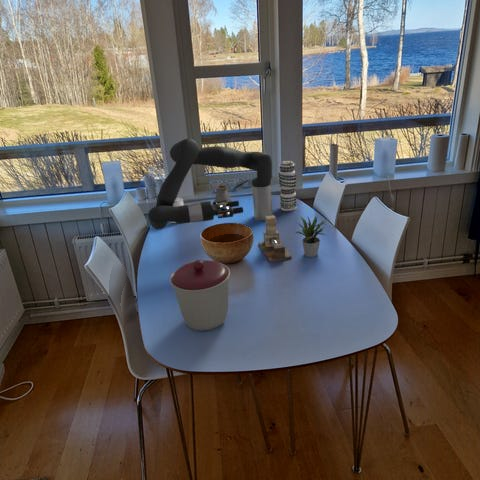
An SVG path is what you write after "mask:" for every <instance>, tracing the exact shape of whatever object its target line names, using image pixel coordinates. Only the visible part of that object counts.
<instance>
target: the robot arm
mask: <svg viewBox="0 0 480 480" xmlns="http://www.w3.org/2000/svg"><path fill="white" fill-rule="evenodd" d="M169 155H170V159H171V160H172V161H173V162H175V164H174V166H173V167H172V168H171V170H170V172H169V173H168V175H167V176H166V178H165V179H164V181H163V183H162V185H161V186H160V189H159V191H158V194H157V197H156V204H155V206H154V207H151V209H150V210H149V211H148V214H147V217H148V220H149V223H150V225H151V228H153V229H155V230H163V229H164V228H166V227H167V226H168V224H169V223H171V222H176V223H177V224H176V225H182V224H183V225H184V224H190V223H200V222H207V221H213V220H214V219H215V216H217V219H225V218H233V217H234V215H236V214H242V213H244V207H243V206H240V202H239V200H232V201H231V202H229V201H227V200H223V201H217V202H214V201H213V202H212V201H210V200H209V201H202V202H193V203H190V204H185V205H183V206H173V204H174V202H175V200H176V197H177V196H178V195H179V192H180V190H181V188H182V184H183V183H184V181H185V179H186V176H187V175H188V173H189V171H190V169H191V167H192V166H193V165H202V166H207V167H215V168H221V169H222V168H224V169H234V168H243V169H248V170H250V171H255V172H256V177H255V178H252V180H251V190H252V204H253V205H252V206H253V214H254V215H253V217H254V219H255V220H256V221H261V222H263V221H266V219H265V216H272V215H273V200H272V185H271V184H272V182H271V181H272V177H273V172H272V170H273V165H272V164H273V162H272V157H271V155H270V154H269V153H266V152H261V151H240V150H238V149H235V148H233V147H228V146H220V145H217V146H214V145H213V146H206V147H199V144H198V143H197V141H195V140H194V139H192V138H184V139H182V140H180V141H178V142H175V144H174V145H172V147H171V148H170V150H169ZM229 206H230V207H232V208H229Z"/></svg>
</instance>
